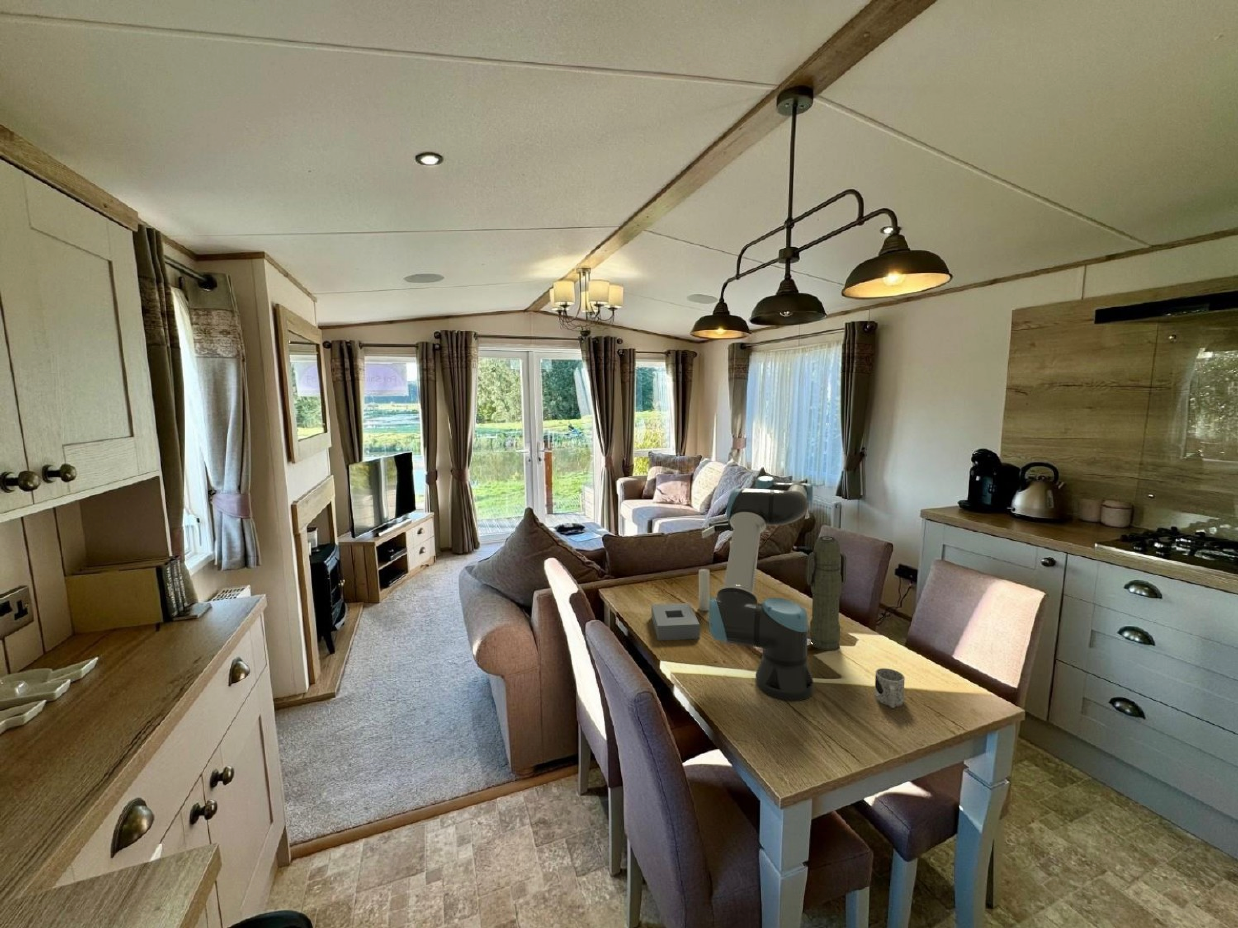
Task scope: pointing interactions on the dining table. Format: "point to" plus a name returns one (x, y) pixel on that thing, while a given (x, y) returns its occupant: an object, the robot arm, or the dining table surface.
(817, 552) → the thermos
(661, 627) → the hole block
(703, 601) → the pin
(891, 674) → the mug
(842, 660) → the dining table surface
